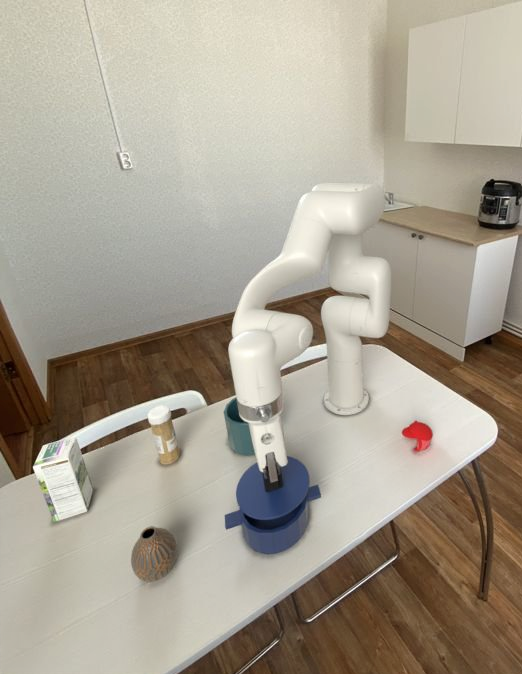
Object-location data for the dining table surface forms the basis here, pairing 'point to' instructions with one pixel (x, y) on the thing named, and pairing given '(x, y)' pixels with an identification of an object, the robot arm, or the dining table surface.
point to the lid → (276, 501)
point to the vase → (154, 554)
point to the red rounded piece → (419, 434)
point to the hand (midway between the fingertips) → (272, 480)
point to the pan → (274, 526)
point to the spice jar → (164, 434)
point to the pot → (237, 430)
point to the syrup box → (63, 478)
